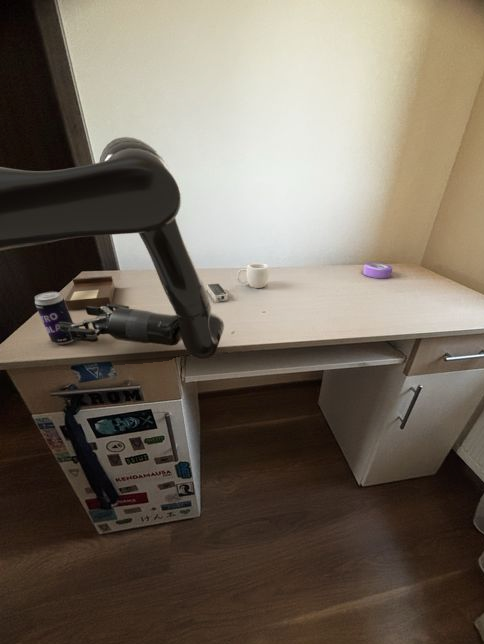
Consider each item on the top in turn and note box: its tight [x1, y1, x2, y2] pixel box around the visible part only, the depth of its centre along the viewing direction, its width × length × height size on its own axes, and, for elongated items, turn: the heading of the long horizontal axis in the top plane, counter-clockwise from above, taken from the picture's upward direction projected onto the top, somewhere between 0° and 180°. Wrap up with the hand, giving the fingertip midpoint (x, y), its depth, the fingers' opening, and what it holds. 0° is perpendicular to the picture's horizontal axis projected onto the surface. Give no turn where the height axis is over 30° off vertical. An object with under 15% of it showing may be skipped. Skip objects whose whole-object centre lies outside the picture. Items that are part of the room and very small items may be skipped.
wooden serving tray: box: [64, 275, 116, 311], centre depth 92 cm, size 12×16×4 cm
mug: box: [236, 262, 270, 289], centre depth 106 cm, size 12×8×8 cm
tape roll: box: [362, 261, 393, 279], centre depth 124 cm, size 12×12×4 cm
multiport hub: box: [206, 283, 229, 303], centre depth 98 cm, size 4×11×2 cm, turn 24°
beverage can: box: [34, 291, 75, 345], centre depth 68 cm, size 6×6×12 cm
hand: (74, 317), depth 67 cm, fingers open, 8 cm apart
